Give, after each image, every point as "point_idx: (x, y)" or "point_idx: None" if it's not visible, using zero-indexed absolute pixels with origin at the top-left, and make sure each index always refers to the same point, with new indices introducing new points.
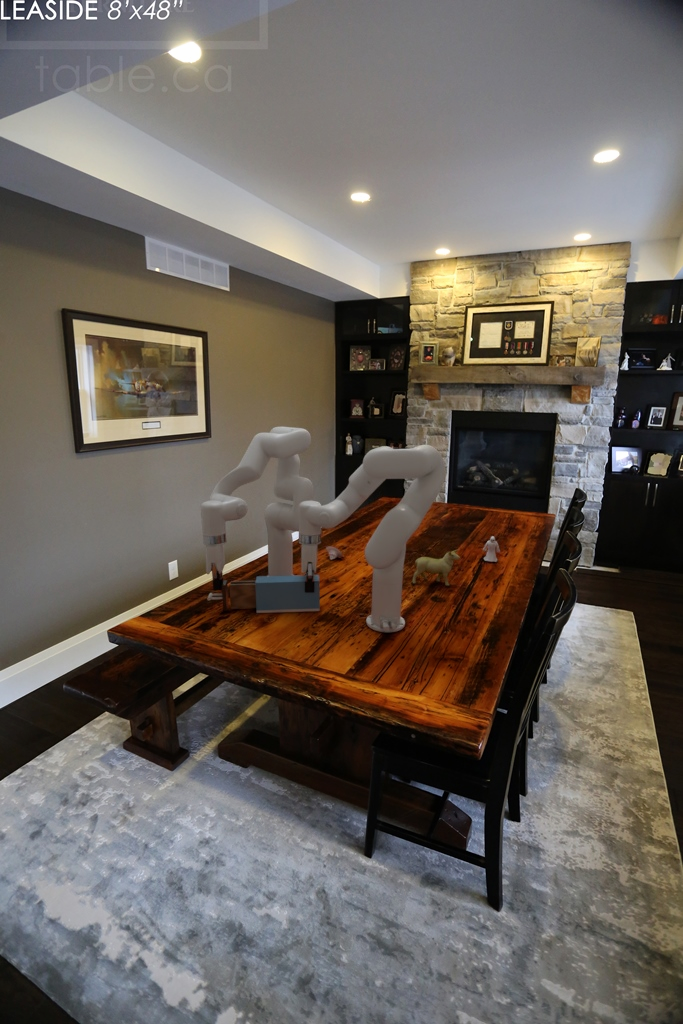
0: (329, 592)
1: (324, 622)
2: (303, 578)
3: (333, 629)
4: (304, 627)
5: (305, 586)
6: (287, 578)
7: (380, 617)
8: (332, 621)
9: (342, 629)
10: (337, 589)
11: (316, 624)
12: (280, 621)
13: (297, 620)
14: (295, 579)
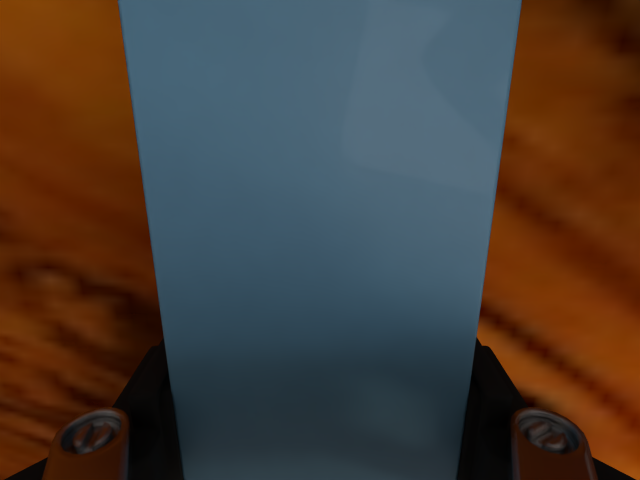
0: (588, 388)
1: (104, 341)
2: (308, 366)
3: (16, 385)
4: (4, 213)
5: (162, 349)
6: (333, 48)
7: None
8: (125, 385)
9: (27, 430)
10: (627, 436)
11: (66, 292)
12: (71, 13)
13: (110, 160)
14: (263, 227)
